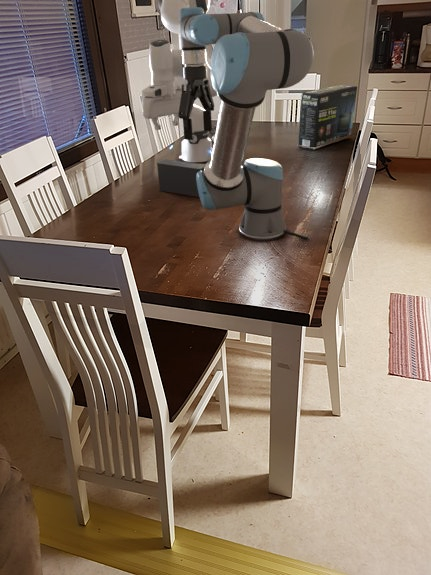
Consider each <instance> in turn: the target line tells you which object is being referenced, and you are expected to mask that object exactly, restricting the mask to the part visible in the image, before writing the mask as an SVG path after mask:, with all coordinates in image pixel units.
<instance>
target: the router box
mask: <svg viewBox="0 0 431 575" xmlns="http://www.w3.org/2000/svg"><path fill="white" fill-rule="evenodd" d="M357 93H358V86H356V85H350V84H339V85H338V84H337V85H334V86H328V87H324V88H318V89H314V90H309V91H304V92H301V93H300V109H299V110H300V111H299V124H298V137H297V146H298V145H302V146H307V147H317V146H320V145H323V144H325V143H328V142H331V141H333V140H336V139H338V138H341V137H344V136H347V135H351V136H352V133H353V132H352V131H353V125H354V115H355V109H356V99H357ZM311 151H313V150H312V149H311Z"/></svg>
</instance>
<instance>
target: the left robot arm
mask: <svg viewBox="0 0 431 575" xmlns="http://www.w3.org/2000/svg"><path fill="white" fill-rule="evenodd" d="M210 5H211V0H158V8H159V12H160V20H161V23H162V25H163V26H164V27H165V29H167V30H168V31H169V32H170V33H173V34H177V35H178V46H179V48H178V49H172V46H171V41H170V40H168V39H157V40H153V41H151V42H150V43H149V49H148V61H149V70H150V74H151V78H150V84H149V85H148V86H147V87H145V88H143V89H142V90H141V96H142V100H141V111H142V116H143V117H144V118H145V119H147V120H151V122H152V123H153V125H154V130H155V131H160V130H161V129H162V126H161V124H159V118H162V117H167V116H174V118H173V120H172V121H171V122H172V126H173V127H176V126H179V120H180V118H179V117H178V114H179V107H180V100H181V94H182V84H187V80H185V79H184V78H183V67H184V66H185V65H183V61H182V47H181V34H180V24H179V11H180V9H182V8H194V7H201V8H203V10H204V14H208V12H209V10H210ZM206 62H207V63H206V64H205V65H206V67H207V78H206V79H203V80H209V87H210V91H211V95H212V98H214V97H218V95H217V92H216V91H215V90H214V89H213V86H212V83H211V76H210V71H211V66H210V65H209V63H208V61H207V60H206ZM203 111H206V110H204V108H203V107H201V106H199V105H197V104H195V103H194V105H193V108H192V112H191V115H190V118H191V120H192V136H193V140H185V139H184V138H183V140H182V141H181V154H180V155H179V157H178V159H180V160H182V161H183V162H189V163H204V162H208V161H209V160H211V158H212V152H213V139H212V138H210V132H211V133H212V134H213V135H215V134H216V133H215V132H214V131H213V130H214V128H215V129H216V128H217V126H216V127H214V126H215V125H212V127H214V128H212V131H213V132H214V133H215V134H214V133H213V132H212V131H204V120H203ZM211 139H212V140H211ZM173 146H174V145H173V144H172V145H171V146H170V147H169V150H171V149H172V148H173Z"/></svg>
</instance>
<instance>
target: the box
mask: <svg viewBox="0 0 431 575" xmlns="http://www.w3.org/2000/svg"><path fill="white" fill-rule="evenodd" d="M205 165H206V163H205V164H203V163H198V162H187V161H183V160H181V161H180V160H175V159H174V160H173V159H163V160H161V161H158V162H157V163H156V166H157V176H158V183H159V184H158V186H159V191H160V192H166V193H173V194H179V195H184V196H190V197H196V198H200V197H199V193H198V188H197V182H196V174H197V172H200V171H204V169H205Z"/></svg>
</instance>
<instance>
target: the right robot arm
mask: <svg viewBox="0 0 431 575" xmlns="http://www.w3.org/2000/svg"><path fill="white" fill-rule="evenodd" d="M179 24H180V34H181V47H182V61H183V65H185V66H184V67H183V78H184V79H185V80H187V84H182V94H181V100H180V107H179V114H178V117H179V120H181V119H182V127H183V140H184V139H185V140H193V136H192V120H191V118H190V115H191V112H192V108H193V105H194V104H195V102H196V100H197V99H198V100H199V102H200V104H201V106H202V108H203V109H204V110H205V111H203V120H204V131H209V132H211V131H213V129H212V127H213V124H212V112H214V110H215V103H214V99H213V98H214V97H212V95H211V91H210V87H209V80H203V79H206V78H207V67H206V65H205V64H206V63H208V61H207V46H209V45H214V46H213V48H212V52H211V55H210V56H211V57H210V65H209V67H210V68H211V71H210V76H211V83H212V86H213V89H214V90H215V91H216V92H217V97H218V99H219V100H220V103H219V110H218V116H217V121H216V127H217V128H215V140H214V141H213V145H212V148H213V152H212V158H211V160H209V161H206V163H205V169H204V171H200V172H197V174H196V182H197V188H198V193H199V197H198V198H199V200H200V203H201V205H202V207H203V208H204V209H205V211H206V210H207V211H211V210H212V211H213V210H216V211H217V210H220V209H222V210H223V209H228V208H234V207H241V206H244V211H243V213H242V216H241V220H240V222H239V226H238V232H239V235H240V236H241V237H242V238H244V239H247V240H250V241H254V242H271V241H277V240H279V239H281V238H283V237H285V235H289V236H293V237H296V238H298V239H302V240H305V241H308V240H309V237H308V236H305V235H301V234H299V233H296V232H293V231H289V230H287V223H286V221H285V216H284V214H283V210H282V200H283V183H284V174H283V173H284V172H283V171H284V170H283V166H282V164H280V163H279V162H278V161H275V160H272V159H268V158H259V157H253V158H248V159H245V160H244V156H245V152H246V149H247V144H248V139H249V136H250V132H251V127H252V123H253V120H254V116H255V112H256V108H258V107H259V106H260V105H262V104H263V103H264V100H265V98H266V94H267V91H271V90H280V89H287V88H290V87H293V86H295V85H297V84H299V83H300V82H301V81H303V80H304V79H305V78H306V76H307V75H308V74H309V72H310V71H311V69H312V66H313V63H314V58H315V51H314V46H313V43H312V40H310V38H309V37H308V36H307V35H306V34H305V33H303V32H301V31H299V30H297V29H293V28H287V29H285V28H284V29H282V28H280V27H278V26H276V25H273V24H271V23H269V22H267V21H266V20H265V17H264V16H263V13H261V12H255V11H248V12H234V13H233V12H232V13H206V14H204V10H203V8H201V7H194V8H182V9H180V11H179ZM206 61H207V62H206ZM243 160H244V163H243ZM242 164H243V165H242Z"/></svg>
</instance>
